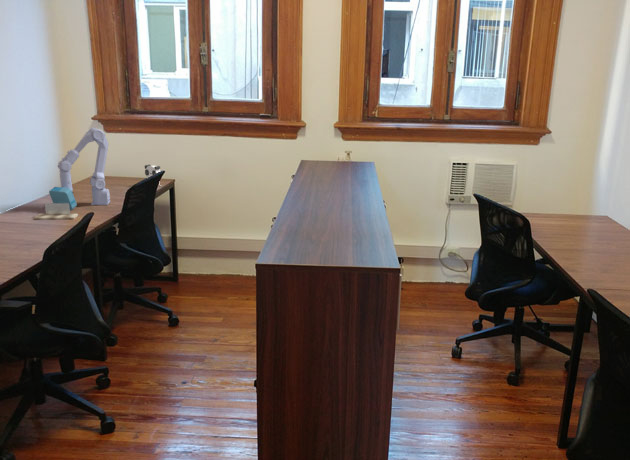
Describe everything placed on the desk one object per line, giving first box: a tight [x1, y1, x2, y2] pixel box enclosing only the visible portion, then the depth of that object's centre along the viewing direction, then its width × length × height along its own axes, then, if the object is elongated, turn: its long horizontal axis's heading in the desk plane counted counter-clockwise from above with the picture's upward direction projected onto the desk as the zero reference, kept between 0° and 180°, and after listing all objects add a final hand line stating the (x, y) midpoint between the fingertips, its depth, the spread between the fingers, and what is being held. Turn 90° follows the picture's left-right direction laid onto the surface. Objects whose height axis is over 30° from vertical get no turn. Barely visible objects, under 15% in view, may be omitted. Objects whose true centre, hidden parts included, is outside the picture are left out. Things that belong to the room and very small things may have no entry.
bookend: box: [33, 202, 79, 221], centre depth 298 cm, size 20×8×7 cm, turn 97°
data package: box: [48, 186, 78, 211], centre depth 314 cm, size 12×4×12 cm, turn 74°
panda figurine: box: [144, 164, 161, 186], centre depth 375 cm, size 12×11×15 cm
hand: (68, 204), depth 320 cm, fingers closed
